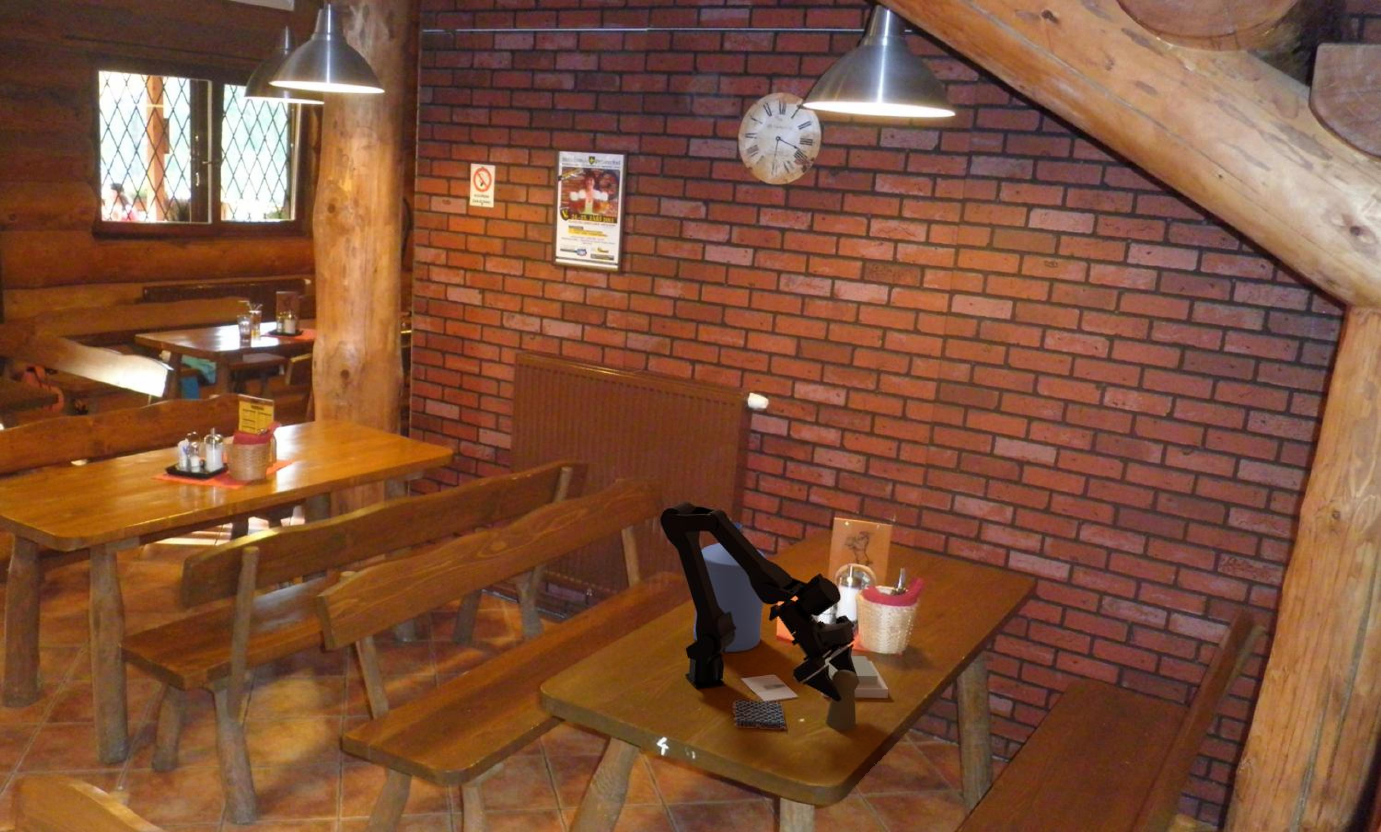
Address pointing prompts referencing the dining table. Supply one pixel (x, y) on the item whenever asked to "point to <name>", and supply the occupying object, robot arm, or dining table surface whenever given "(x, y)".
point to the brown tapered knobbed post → (843, 701)
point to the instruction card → (769, 688)
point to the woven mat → (759, 714)
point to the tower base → (871, 688)
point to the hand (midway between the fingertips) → (848, 692)
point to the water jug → (734, 596)
